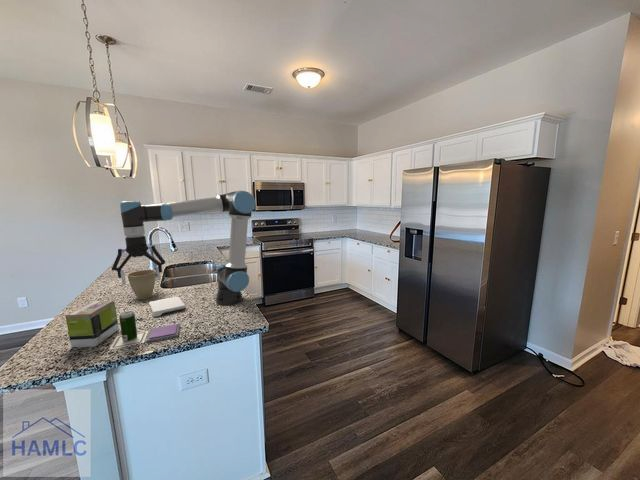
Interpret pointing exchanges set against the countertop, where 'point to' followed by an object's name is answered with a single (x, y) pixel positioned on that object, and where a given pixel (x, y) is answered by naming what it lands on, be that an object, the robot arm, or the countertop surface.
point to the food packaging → (166, 305)
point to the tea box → (92, 323)
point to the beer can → (128, 326)
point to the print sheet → (120, 343)
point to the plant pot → (142, 283)
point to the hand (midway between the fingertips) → (142, 282)
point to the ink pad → (163, 333)
